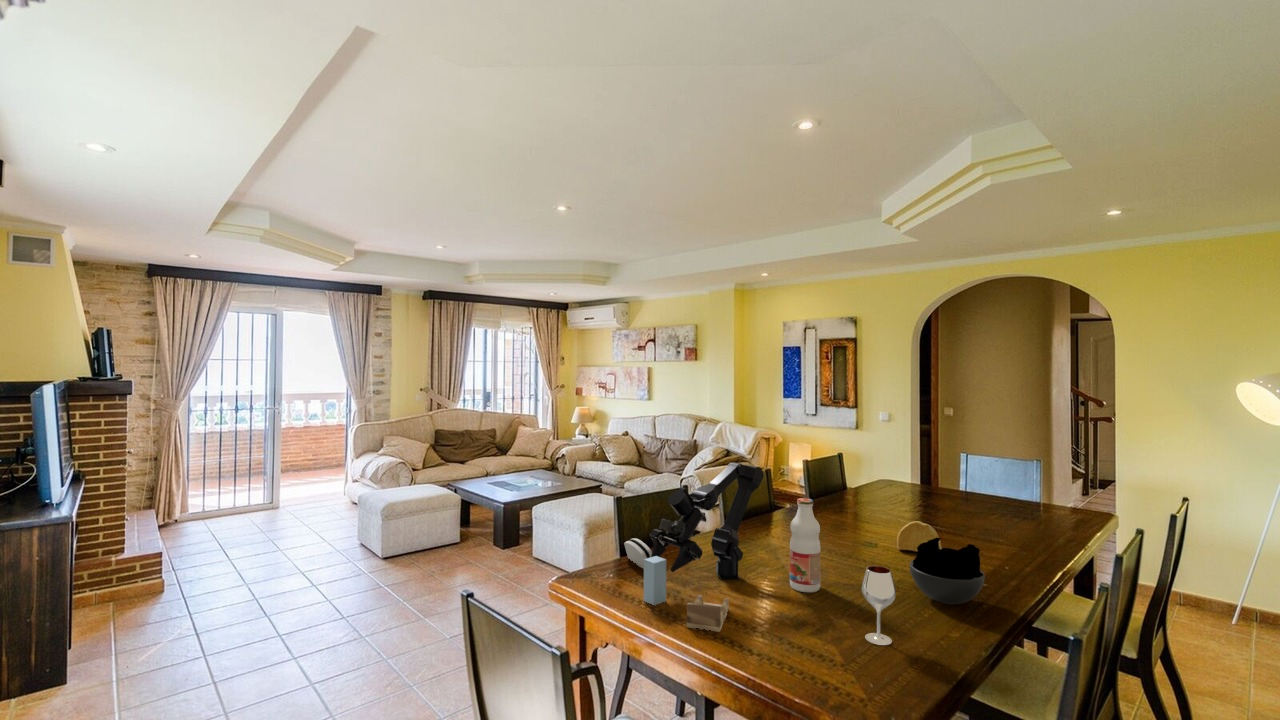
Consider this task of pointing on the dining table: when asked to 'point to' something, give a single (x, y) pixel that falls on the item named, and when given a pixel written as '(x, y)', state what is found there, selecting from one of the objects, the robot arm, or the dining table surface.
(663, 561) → the light blue block
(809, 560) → the fruit juice
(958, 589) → the coal bowl
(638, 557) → the white arched piece
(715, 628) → the channel
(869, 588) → the wineglass
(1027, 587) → the dining table surface
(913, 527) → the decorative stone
